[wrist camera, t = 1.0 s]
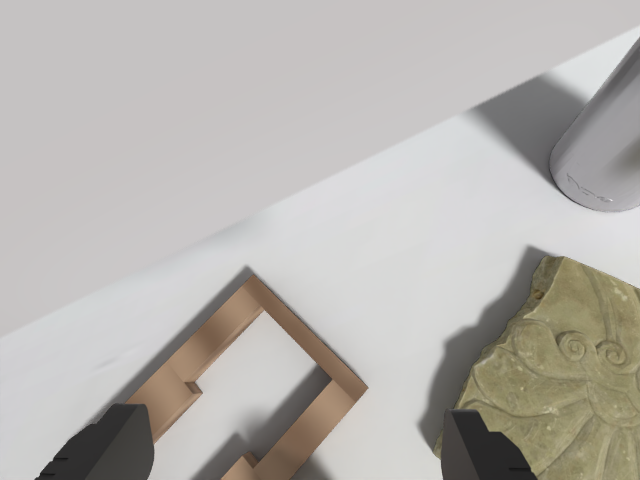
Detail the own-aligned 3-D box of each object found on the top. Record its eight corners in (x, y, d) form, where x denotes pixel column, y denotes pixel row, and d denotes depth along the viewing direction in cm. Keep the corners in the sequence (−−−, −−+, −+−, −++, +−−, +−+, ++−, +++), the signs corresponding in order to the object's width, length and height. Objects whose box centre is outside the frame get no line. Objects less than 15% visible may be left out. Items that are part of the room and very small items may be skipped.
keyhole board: (259, 279, 36) (252, 273, 34) (368, 387, 32) (368, 388, 30) (77, 462, 32) (57, 468, 30) (171, 616, 28) (155, 634, 26)
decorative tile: (764, 363, 29) (814, 361, 26) (680, 633, 24) (729, 672, 21) (526, 247, 35) (543, 233, 31) (421, 449, 30) (428, 457, 27)
